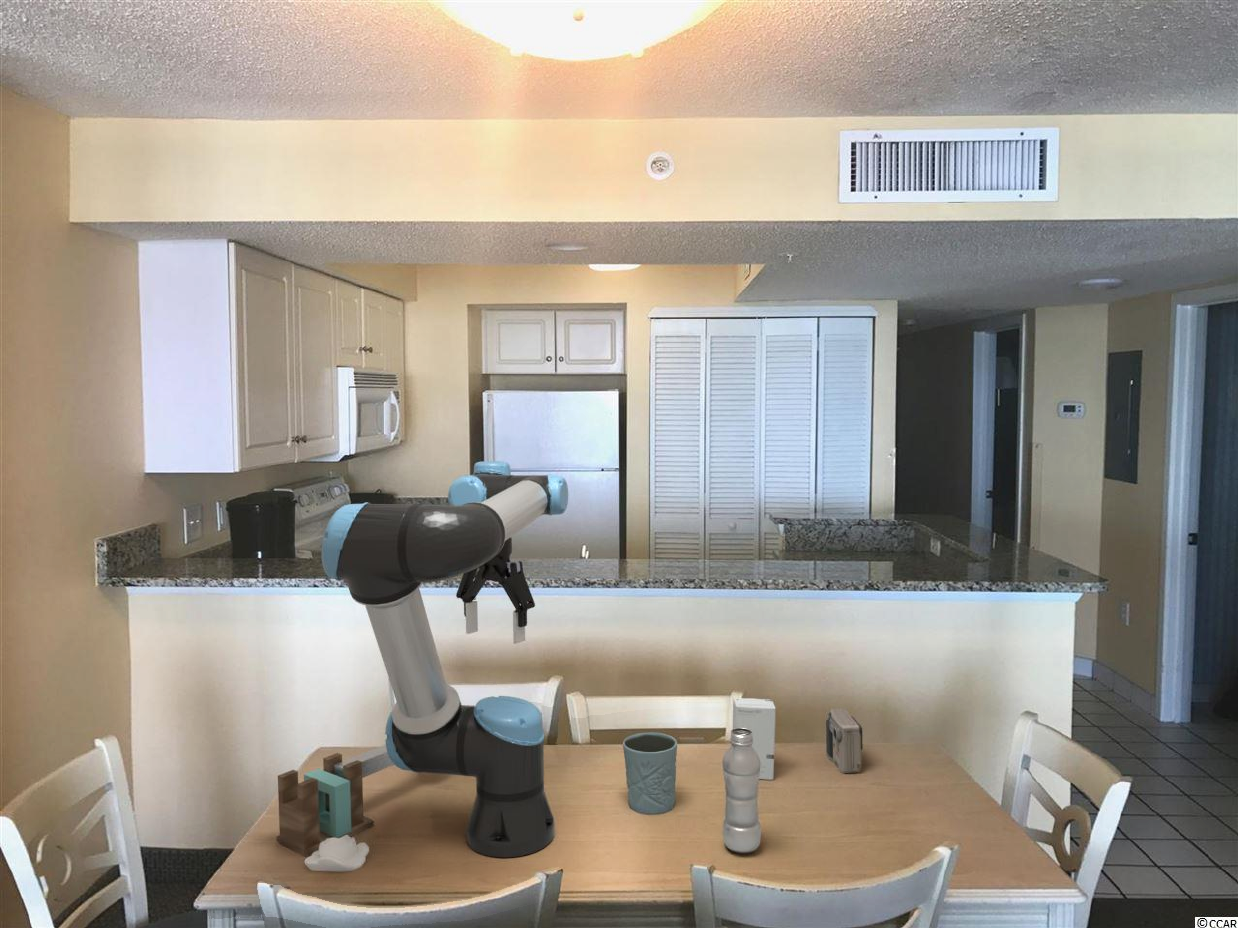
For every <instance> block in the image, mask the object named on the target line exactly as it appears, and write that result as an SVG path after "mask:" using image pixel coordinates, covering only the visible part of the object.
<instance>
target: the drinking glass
mask: <svg viewBox="0 0 1238 928" xmlns="http://www.w3.org/2000/svg"><path fill="white" fill-rule="evenodd" d="M622 747H623V748H622V749H623V757H624V766H625V777H626V785H627V789H628V790H627V799H628V805H629V807H630V809H631V810H632V811H634V812H636V813H638V814H643V815H650V816H652V815H653V816H655V815H661V814H665V813H668V812H670V811H671V810H672V809H674V807H675V801H676V797H675V796H676V776H677V766H676V763H677V754H678V753H677V752H678V750H677V749H678V742H677V739H676V738H674V736H671V735H669V734H667V733H666V734H665V733H663V732H662V733H660V732H652V731H651V732H639V733H635V734H632V735H629V736H627V737H625V739H624V740H623V742H622Z"/></svg>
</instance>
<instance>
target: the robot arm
mask: <svg viewBox="0 0 1238 928" xmlns="http://www.w3.org/2000/svg"><path fill="white" fill-rule="evenodd" d="M447 499H448V503H449V505H448V504H447V505H445V504H444V505H443V504H441V505H440V504H427V503H426V504H410V503H409V504H407V503H405V504H401V503H400V504H398V503H397V504H395V503H394V504H393V503H392V504H391V503H390V504H389V503H387V504H385V503H382V504H381V503H370V502H367V501H366V502H364V503H352V504H351V503H348V504H345V505H343V506H341V507H339V508H338V509H337V510H336V511H335V512H334V514H332V516H331V518H330V519H329V521H328V522H327V525H326V527H325V531H324V533H323V534H324V535H323V537H322V538H323V539H322V544H321V563H322V568H323V571H324V573H325V574H326V575H327V577H328V578H331V579H333V580H335V581H337V582H341V581H342V580H343V581H345V583H346V585H347V587H348V591H349V595H350V597H351V598H352V599H353V600H354V601H355V603H358V604H360V605H363V606H365V609H366V612H367V615H368V618H369V621H370V625H371V627H372V631H373V633H374V637H375V640H376V642H377V646H378V649H379V652H380V655H381V658H382V662H383V663H384V667H385V671H386V674H387V676H388V679H389V683H390V685H391V689H392V691H393V696H394V698H395V701H396V702H395V704H394V705H393V708H392V710H391V712H390V713H389V715H388V717H387V721H386V725H385V733H384V734H385V735H386V739H385V740H384V742H385V745H386V748H387V752H388V755H389V757H390V759H391V761H392V762H393V763H394V764H395V765H394V766H396V768H399V769H400V770H404V771H411V772H412V773H417V774H423V773H424V774H436V775H437V774H439V775H448V776H463V777H473V778H475V781H476V783H475V784H476V786H475V787H476V788H475V789H476V791H475V792H476V794H475V798H474V802H473V804H472V805H473V806H472V808H471V812H470V815H469V818H468V821H467V826H466V841H467V844H468V845H469V847H470V848H471V849H472V850H474V851H475V852H477V853H479V854H482V855H485V856H489V857H494V858H496V857H498V858H517V857H521V856H526V855H531V854H533V853H536V852H539V851H540V850H542V849H544V848H545V847H547V846H548V845H549V844H550V843H551V842H552V841H553V839H554V837H555V834H556V833H555V831H556V829H555V824H556V823H555V818H554V814H553V811H552V809H551V807H550V803H549V800H548V798H547V794H546V791H545V781H544V780H545V779H544V778H545V771H544V769H545V768H544V767H545V766H544V765H545V764H544V763H545V762H544V761H545V760H544V757H545V755H544V754H545V753H544V739H545V731H544V725H543V724H544V723H543V715H542V712H541V711H540V708H538V707H537V706H536V705H535V704H534V703H532V702H531V701H528V700H526V699H523V698H520V697H516V696H509V695H498V696H493V695H492V696H488V697H484V698H481V699H479V700H478V701H477V702H476V704H475V706H474V705H463V704H462V703H461V699H460V695H459V692H458V691H457V690H456V689H455V687H453V686H451V685H450V684H447V682H446V677H445V675H444V671H443V669H442V664H441V661H440V657H439V654H438V650H437V647H436V644H435V640H434V637H433V632H432V629H431V625H430V622H429V619H428V614H427V612H426V609H425V604H424V600H423V597H422V594H421V590H420V587H421V586H422V585H423V583H435V582H436V583H437V582H441V581H446V580H450V579H453V578H455V577H458V576H461V575H462V577H461V579H460V583H459V586H458V588H457V591H456V593H455V596H456V598H457V599H460V600H462V602H463V615H464V617H465V634H466V635H471V634H474V633H477V632H479V628H478V626H479V623H478V622H479V621H478V619H479V618H478V616H479V615H478V600H477V598H476V597H477V596H478V594H479V593H480V591H481V590H482V588H483V587H484V585H485V584H486V582H489V581H491V582H495V583H497V582H498V585H500V586H502V588H503V589H504V591H505V594H506V595H507V596H508V598H509V600H510V601H511V604H512V605H513V607H514V611H512V626H513V627H512V631H513V634H512V635H513V636H512V637H513V638H512V639H513V640H512V641H513V643H512V644H520V643H523V642H525V641H526V627H527V625H528V610H530V609H534V608H535V607H536V603H535V601H534V597H533V595H532V593H531V590H530V587H529V585H528V581H527V579H526V576H525V574H524V567H523V562H522V560H518V561H512V562H511V559H510V558H511V557H510V556H511V554H512V552H513V539H512V537H513V536H514V535H516V534H517V533H518V532H521V530H523V529H524V528H526V527H527V526H529V525H530V524H532V523H533V522H534V521H536V520H537V519H538V518H540V517H541V516H545V515H546V516H555V515H557V516H558V515H562V514H564V513H565V512H566V510H567V508H568V504H569V486H568V483H567V481H566V479H565V477H563V476H562V475H551V474H546V475H544V474H543V475H542V474H541V475H540V474H538V475H536V474H534V475H533V474H532V475H531V474H530V475H525V474H524V475H513V474H511V466H510V464H509V462H508V461H504V460H503V461H502V460H501V461H500V460H499V461H498V460H497V461H496V460H494V461H493V460H490V461H489V460H488V461H478V462H476V463H474V466H473V473H472V474H470V475H469V474H465V475H464V476H461V477H459V478H457V479H455V480H454V481H453V482H452V484H451V485H450V487H449V490H448V493H447Z"/></svg>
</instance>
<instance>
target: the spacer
mask: <svg viewBox="0 0 1238 928" xmlns="http://www.w3.org/2000/svg"><path fill="white" fill-rule="evenodd" d="M311 778H315V779H318V803H319V830H320V831H322V832H324V833H326V834H328V835H331V836H333V837H335V838H338V837H341V836H343V835H345V834H347V833H349V832H351V800H350V781H349V780H346V779H344V778H341V777H339V776H336V775H334V774H331V773H328V772H326V771H324V769H320V768H317V769H314V770H311V771H309V772H306V773H304V774H303V781H306V780H309V779H311ZM325 793H327V794H329V804H330V812H328V811H326V805H325Z"/></svg>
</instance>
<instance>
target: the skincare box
mask: <svg viewBox="0 0 1238 928" xmlns="http://www.w3.org/2000/svg"><path fill="white" fill-rule="evenodd" d="M735 728H746V729H749V730H751V731H752V733H753V738H752V739H753V744H752V745H751V746H752V747H753V749H754V750H755V751H756V753H757V755H758V757H759V759H760V763H761V766H760V775H759V780H766V781H767V780H768V781H769V780H770V781H772V780H774V773H775V771H774V769H775V739H776V706H775V704H774V701H773V699H767V698H766V699H763V698H754V697H753V698H750V697H749V698H743V697H741V698H739V697H734V698H732V729H735Z"/></svg>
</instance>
